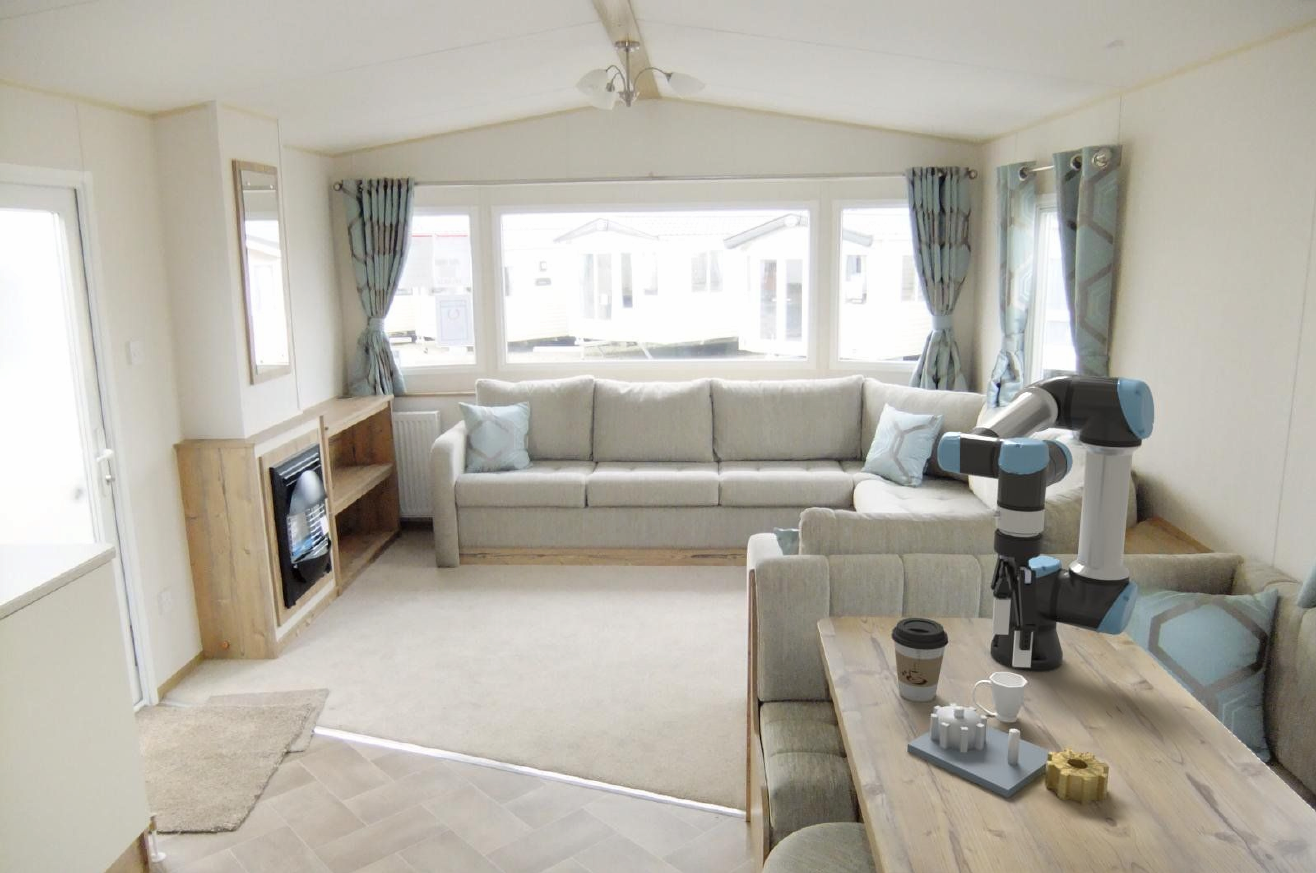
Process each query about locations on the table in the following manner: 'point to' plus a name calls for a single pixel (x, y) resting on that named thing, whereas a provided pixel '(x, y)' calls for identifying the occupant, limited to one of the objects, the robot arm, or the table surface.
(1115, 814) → the table surface
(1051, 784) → the brass gear
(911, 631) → the coffee cup
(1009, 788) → the gear board
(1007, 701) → the cup
